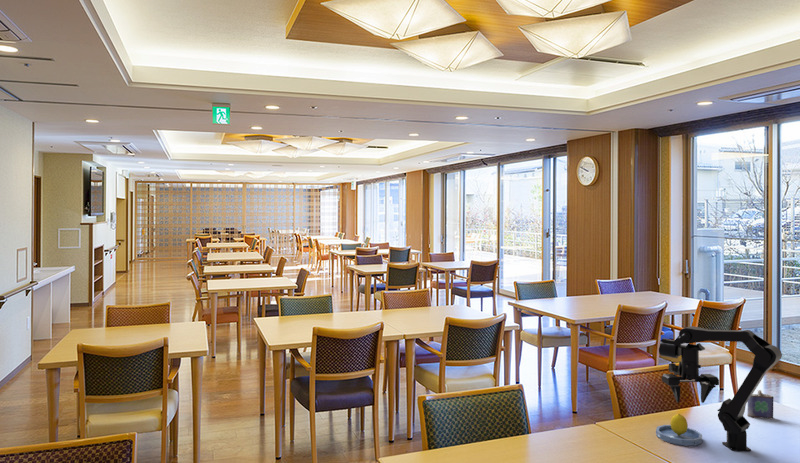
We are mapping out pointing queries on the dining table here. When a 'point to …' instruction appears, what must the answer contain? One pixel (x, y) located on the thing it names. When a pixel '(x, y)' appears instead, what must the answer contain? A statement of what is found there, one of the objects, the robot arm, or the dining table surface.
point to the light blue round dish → (685, 439)
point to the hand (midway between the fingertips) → (690, 402)
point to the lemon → (679, 424)
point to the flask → (760, 405)
